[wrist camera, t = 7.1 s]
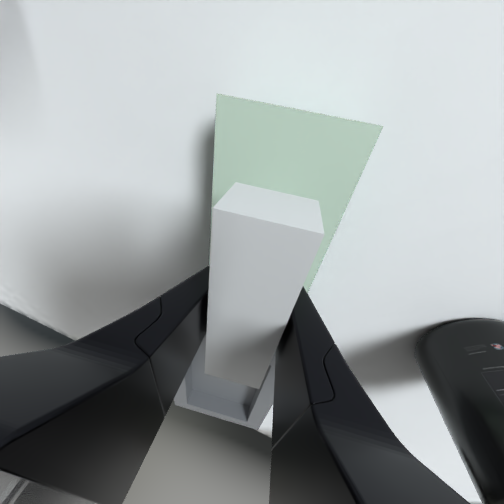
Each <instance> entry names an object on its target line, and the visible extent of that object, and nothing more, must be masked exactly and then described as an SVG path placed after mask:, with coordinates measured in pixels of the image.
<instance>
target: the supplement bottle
mask: <svg viewBox="0 0 504 504" xmlns="http://www.w3.org/2000/svg"><path fill="white" fill-rule="evenodd" d="M415 358H416V361H417V364H418V366H419V368H420V370H421V372H422V375H423V377H424V379H425V381H426V383H427V386H428V388H429V390H430V392H431V394H432V396H433V398H434V401H435V403H436V405H437V407H438V409H439V411H440V414H441V416H442V418H443V420H444V422H445V424H446V426H447V429H448V431H449V433H450V435H451V437H452V439H453V441H454V444H455V446H456V448H457V450H458V452H459V454H460V456H461V459H462V461H463V463H464V465H465V467H466V469H467V471H468V474H469V476H470V478H471V480H472V482H473V484H474V486H475V489H476V491H477V493H478V495H479V497H480V499H481V501H482V503H483V504H504V321H499V320H492V319H467V320H461V321H455V322H451V323H448V324H445V325H442V326H439V327H437V328H435V329H433V330H431V331H429V332H428V333H427V334H425V335H424V336H423V337H422V338H421V339H420V340H419V342H418V343H417V345H416V348H415Z"/></svg>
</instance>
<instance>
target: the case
mask: <svg viewBox="0 0 504 504" xmlns="http://www.w3.org/2000/svg"><path fill="white" fill-rule="evenodd" d="M205 352H206V334H205V336H204V338H203V340H202V343H201V345H200V347H199V349H198V351H197V353H196V355H195V357H194V359H193V361H192V363H191V365H190V367H189V369H188V371H187V373H186V375H185V377H184V379H183V381H182V383H181V385H180V387H179V389H178V391H177V393H176V395H175V397H174V400H175V405H178V406H181V407H184V408H187V409H191V410H194V411H197V412H201V413H204V414H207V415H211V416H214V417H217V418H220V419H223V420H227V421H230V422H233V423H237V424H240V425H243V426H247V427H250V428H253V429H256V430H258V429H259V427H260V425H261V424H262V422H263V420H264V418H265V417H266V415H267V413H268V412H269V410H270V408H271V406H272V405H273V403H274V379H275V356H276V350H275V353H274V355H273V358H272V360H271V362H270V365H269V367H268V369H267V372H266V374H265V376H264V379H263V381H262V383H261V386H260V388H259V389H256V388H253V387H250V386H246V385H243V384H239V383H236V382H232V381H229V380H226V379H222V378H219V377H215V376H212V375H208V374H205V373H204V372H205Z"/></svg>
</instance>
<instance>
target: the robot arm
mask: <svg viewBox="0 0 504 504" xmlns="http://www.w3.org/2000/svg"><path fill="white" fill-rule="evenodd" d="M209 270H210V265H209V266H207V267H206V268H204V269H203V270H201V271H199V272H198V273H196V274H195V275H193V276H191V277H190V278H188V279H187V280H185V281H183V282H182V283H180V284H179V285H177V286H175V287H174V288H172V289H170V290H169V291H167V292H166V293H164V294H162V295H161V297H157V298H156V299H154V300H153V301H151V302H149V303H148V304H146V305H144V306H143V307H141V308H139V309H137V310H136V311H134V312H132V313H130V314H128V315H126V316H124V317H122V318H120V319H118V320H116V321H114V322H113V323H111V324H109V325H107V326H105V327H103V328H101V329H99V330H97V331H95V332H93V333H91V334H89V335H87V336H85V337H83V338H81V339H79V340H76V341H74V342H71V343H69V344H66V345H63V346H60V347H56V348H52V349H47V350H40V351H34V352H27V353H21V354H15V355H9V356H2V357H0V504H94V503H97V504H122V503H123V501H124V499H125V497H126V495H127V493H128V491H129V489H130V487H131V485H132V483H133V481H134V479H135V477H136V475H137V473H138V471H139V469H140V467H141V465H142V462H143V460H144V458H145V456H146V454H147V452H148V450H149V448H150V446H151V444H152V442H153V440H154V438H155V436H156V434H157V432H158V430H159V428H160V426H161V424H162V422H163V420H164V416H165V415H166V414H167V412H168V410H169V408H170V406H171V403H172V401H173V399H174V397H175V395H176V393H177V391H178V389H179V387H180V385H181V383H182V381H183V379H184V377H185V375H186V373H187V371H188V369H189V367H190V365H191V363H192V361H193V359H194V357H195V355H196V353H197V351H198V349H199V347H200V345H201V343H202V340H203V338H204V336H205V334H206V332H207V311H208V291H209ZM334 343H335V342H334V340H333V339H332V337H331V335H330V333H329V331H328V330H327V328H326V326H325V324H324V322H323V321H322V319H321V317H320V315H319V313H318V312H317V310H316V308H315V306H314V304H313V303H312V301H311V299H310V297H309V295H308V294H307V292H306V290H305V288H304V286H303V287H302V289H301V291H300V294H299V296H298V298H297V301H296V303H295V306H294V308H293V310H292V313H291V315H290V317H289V320H288V322H287V324H286V327H285V329H284V332H283V334H282V336H281V339H280V341H279V343H278V346H277V348H276V356H275V379H274V403H273V427H272V451H271V473H270V496H269V504H470V503H469V502H467V501H466V500H465V499H464V498H463V497H462V496H460V495H459V494H458V493H457V492H456V491H454V490H453V489H452V488H451V487H450V486H448V485H447V484H446V483H445V482H444V481H442V480H441V479H440V478H439V477H438V476H437V475H435V474H434V473H433V472H432V471H431V470H429V469H428V468H427V467H426V466H425V465H423V464H422V463H421V462H420V461H419V460H418V459H416V458H415V457H414V456H413V455H412V454H411V453H410V452H409V451H408V450H407V449H406V448H405V447H404V445H403V444H402V443H401V442H400V441H399V440H398V438H397V437H396V436H395V435H394V433H393V432H392V431H391V429H390V428H389V426H388V425H387V423H386V422H385V420H384V419H383V417H382V416H381V415H380V413H379V412H378V410H377V409H376V407H375V406H374V404H373V403H372V401H371V400H370V398H369V397H368V395H367V394H366V392H365V391H364V389H363V388H362V387H361V385H360V384H359V382H358V380H357V379H356V377H355V376H354V374H353V373H352V371H351V370H350V368H349V366H348V365H347V363H346V361H345V360H344V358H343V356H342V355H341V353H340V351H339V349H338V347H337V346H336V344H334Z"/></svg>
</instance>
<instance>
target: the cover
mask: <svg viewBox="0 0 504 504" xmlns="http://www.w3.org/2000/svg"><path fill="white" fill-rule="evenodd" d="M382 128H383V126H380V125H376V124H371V123H365V122H360V121H355V120H350V119H345V118H340V117H335V116H330V115H325V114H319V113H314V112H309V111H304V110H299V109H294V108H289V107H284V106H279V105H273V104H268V103H263V102H258V101H253V100H248V99H243V98H238V97H233V96H227V95H222V94H217V96H216V118H215V140H214V162H213V184H212V206H211V228H210V250H209V265H210V270H209V291H208V311H207V332H206V352H205V372H204V373H205V374H208V375H212V376H215V377H219V378H222V379H226V380H229V381H232V382H236V383H239V384H243V385H246V386H250V387H253V388H256V389H259V388H260V386H261V383H262V381H263V379H264V376H265V374H266V372H267V369H268V367H269V365H270V362H271V360H272V358H273V355H274V353H275V350H276V348H277V346H278V343H279V341H280V339H281V336H282V334H283V332H284V329H285V327H286V324H287V322H288V320H289V317H290V315H291V313H292V310H293V308H294V306H295V303H296V301H297V298H298V296H299V294H300V291H301V289H302V287H303V286H304V288H305V290H306V292H307V293H308V291H309V289H310V286H311V284H312V282H313V280H314V278H315V275H316V273H317V271H318V269H319V267H320V264H321V262H322V260H323V258H324V256H325V253H326V251H327V249H328V247H329V245H330V242H331V240H332V238H333V236H334V234H335V231H336V229H337V227H338V225H339V223H340V220H341V218H342V216H343V214H344V212H345V209H346V207H347V205H348V203H349V201H350V198H351V196H352V194H353V192H354V190H355V187H356V185H357V183H358V181H359V179H360V176H361V174H362V172H363V170H364V168H365V165H366V163H367V161H368V159H369V157H370V154H371V152H372V150H373V148H374V146H375V144H376V141H377V139H378V137H379V135H380V133H381V130H382Z"/></svg>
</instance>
